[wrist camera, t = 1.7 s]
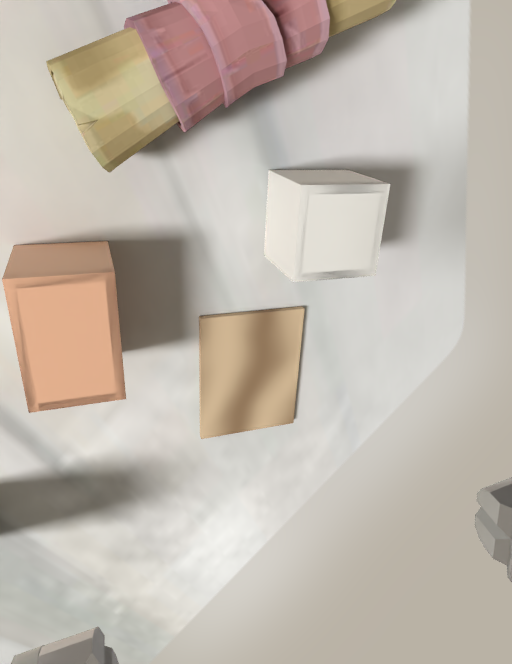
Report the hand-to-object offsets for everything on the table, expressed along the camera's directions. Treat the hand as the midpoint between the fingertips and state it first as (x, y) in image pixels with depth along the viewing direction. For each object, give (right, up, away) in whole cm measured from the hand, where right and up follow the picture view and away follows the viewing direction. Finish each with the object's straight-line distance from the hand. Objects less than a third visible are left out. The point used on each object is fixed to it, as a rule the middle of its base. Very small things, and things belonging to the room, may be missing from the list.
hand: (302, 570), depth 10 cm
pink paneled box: (-14, +7, +25) cm, 30 cm away
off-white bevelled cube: (+3, +14, +28) cm, 32 cm away
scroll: (-4, +24, +21) cm, 32 cm away
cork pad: (-2, +1, +33) cm, 33 cm away
